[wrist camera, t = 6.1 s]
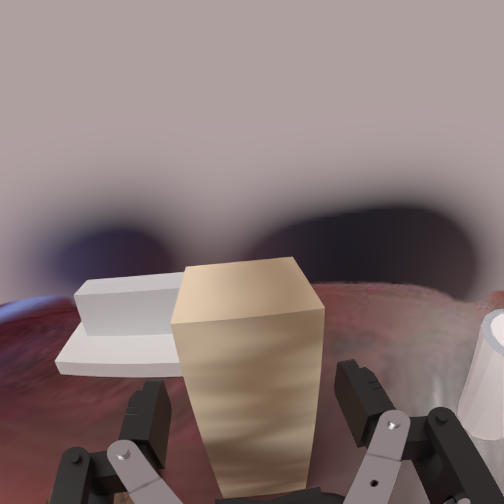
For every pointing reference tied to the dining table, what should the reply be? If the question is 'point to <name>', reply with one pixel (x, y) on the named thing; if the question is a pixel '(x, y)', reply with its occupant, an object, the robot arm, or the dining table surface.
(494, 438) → the white cylinder
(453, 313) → the dining table surface
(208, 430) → the maple block
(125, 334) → the ridge stand
